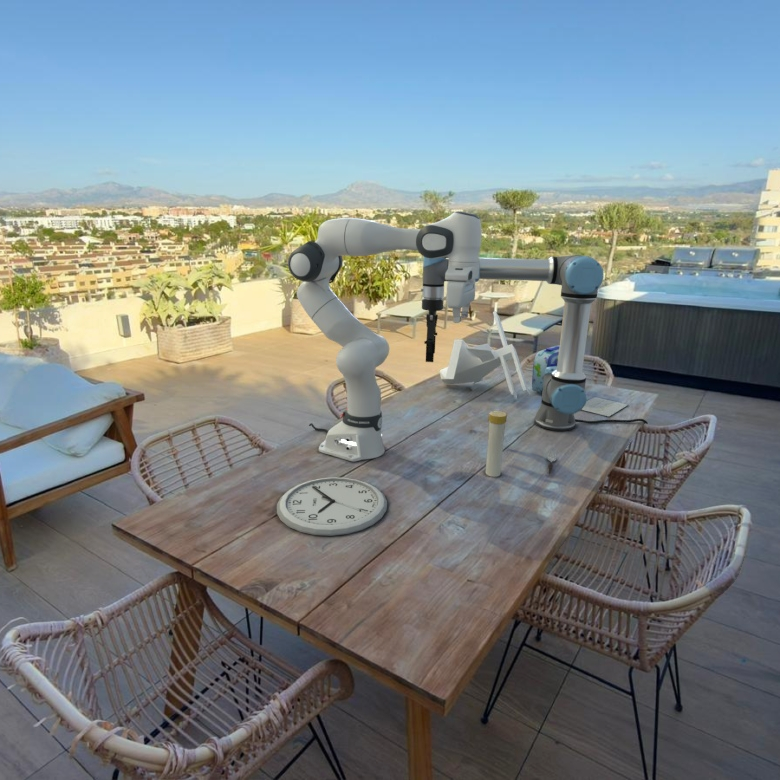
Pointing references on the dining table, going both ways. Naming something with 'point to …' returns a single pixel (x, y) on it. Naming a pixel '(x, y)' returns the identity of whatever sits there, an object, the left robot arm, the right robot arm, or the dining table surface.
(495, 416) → the lid
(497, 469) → the bottle
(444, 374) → the white plastic object
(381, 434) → the left robot arm
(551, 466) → the fork
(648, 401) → the dining table surface
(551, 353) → the lunch box
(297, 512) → the wall clock
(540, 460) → the dining table surface
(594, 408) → the invitation card
